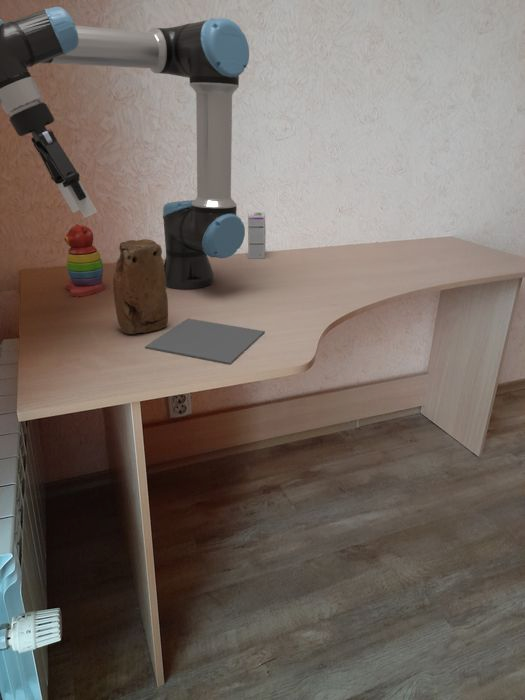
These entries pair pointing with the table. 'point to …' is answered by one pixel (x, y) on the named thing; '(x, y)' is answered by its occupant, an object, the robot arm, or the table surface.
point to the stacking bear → (83, 263)
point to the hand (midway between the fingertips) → (84, 212)
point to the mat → (206, 340)
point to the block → (140, 287)
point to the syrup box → (256, 235)
